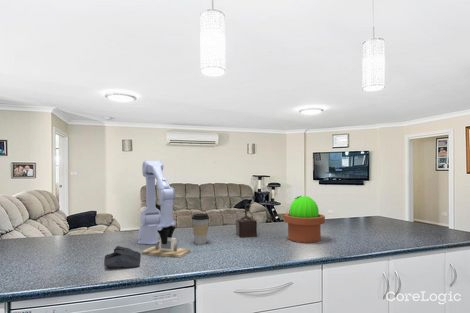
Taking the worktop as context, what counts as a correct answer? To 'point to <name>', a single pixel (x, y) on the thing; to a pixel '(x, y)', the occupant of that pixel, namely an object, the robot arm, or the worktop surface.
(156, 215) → the robot arm
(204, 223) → the coffee cup
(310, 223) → the potted cactus
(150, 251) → the ledge
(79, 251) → the worktop surface
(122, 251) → the dark slate chunk
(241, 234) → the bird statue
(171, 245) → the white rectangular block
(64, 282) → the worktop surface
